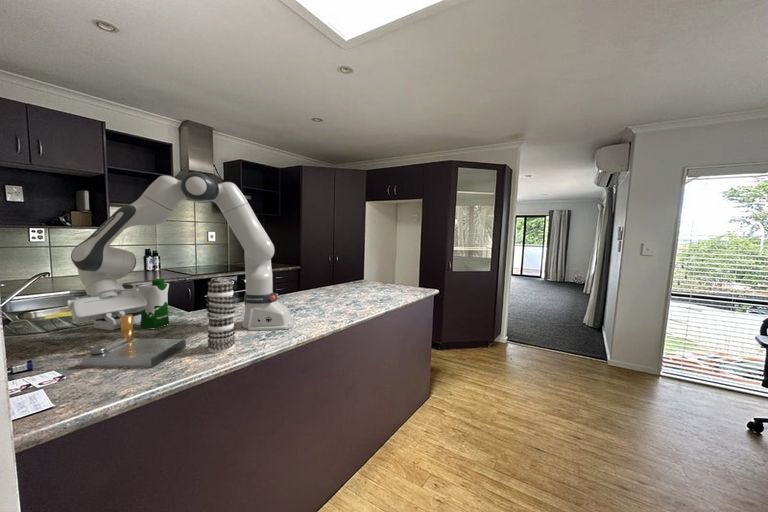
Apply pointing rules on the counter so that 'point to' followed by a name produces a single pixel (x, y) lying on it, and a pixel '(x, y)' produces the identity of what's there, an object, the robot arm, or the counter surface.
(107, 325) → the tea box
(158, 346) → the grey lever board
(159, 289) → the milk carton
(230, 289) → the decorative candle
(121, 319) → the lever
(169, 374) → the counter surface
